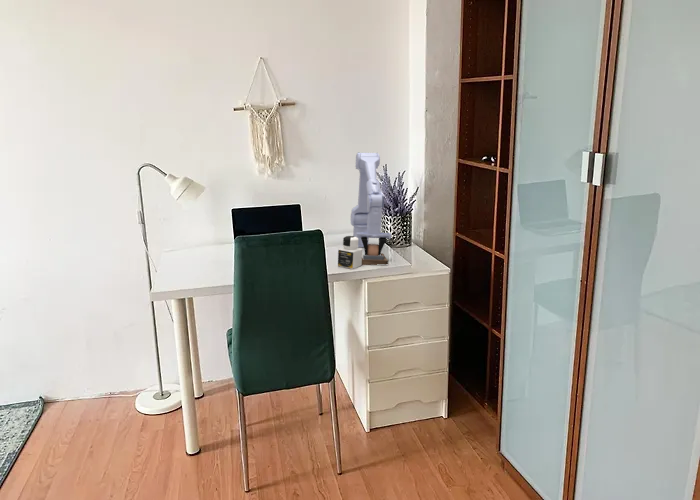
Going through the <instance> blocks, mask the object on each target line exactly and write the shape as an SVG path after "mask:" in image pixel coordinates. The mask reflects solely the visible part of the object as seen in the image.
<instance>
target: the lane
mask: <svg viewBox="0 0 700 500" xmlns="http://www.w3.org/2000/svg"><path fill="white" fill-rule="evenodd" d="M380 256H384V259H383V260H366V259H363V257H362V265H361V266H378V265H377V264H388V265H389V260H388V259H387V257H386V255H385V254H384V253H383V252H381V254H380Z"/></svg>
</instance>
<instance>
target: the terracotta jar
mask: <svg viewBox="0 0 700 500" xmlns="http://www.w3.org/2000/svg"><path fill="white" fill-rule="evenodd" d="M367 255H373V256H380V255H379V243H378V244H377V243H369V244H367Z"/></svg>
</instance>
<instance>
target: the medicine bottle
mask: <svg viewBox="0 0 700 500" xmlns="http://www.w3.org/2000/svg"><path fill="white" fill-rule="evenodd" d="M342 239H343V240H342V247H341V248H338V252H337V266H338V267H341V268H346V269H351V270H353V269H357V268H358V267H361V266H363V265H362V258H363V248H362V247H358V238H357V237H355V236H353V235H346V236H344V237H343V238H342Z"/></svg>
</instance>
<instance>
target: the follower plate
mask: <svg viewBox="0 0 700 500" xmlns="http://www.w3.org/2000/svg"><path fill="white" fill-rule="evenodd" d="M384 256H385V255H384ZM384 256H381V255H378V256H373V255H365V254H364V255H363V254H362V258H363V259H366V260H383V259H384Z"/></svg>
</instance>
